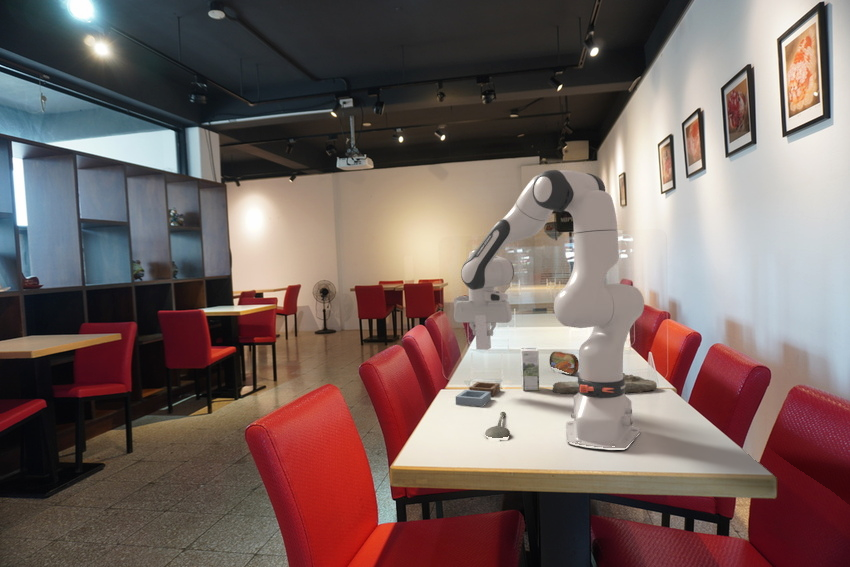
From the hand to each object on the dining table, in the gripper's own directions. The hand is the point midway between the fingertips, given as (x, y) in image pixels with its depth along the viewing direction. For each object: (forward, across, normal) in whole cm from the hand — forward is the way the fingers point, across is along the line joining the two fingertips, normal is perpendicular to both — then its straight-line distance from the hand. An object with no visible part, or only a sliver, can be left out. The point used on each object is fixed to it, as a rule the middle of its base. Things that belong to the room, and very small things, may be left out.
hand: (483, 335), depth 181 cm
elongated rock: (+21, +38, +14) cm, 46 cm away
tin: (+20, +21, +37) cm, 47 cm away
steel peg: (+5, 0, 0) cm, 5 cm away
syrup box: (+20, +14, +9) cm, 26 cm away
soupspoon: (+21, +15, -34) cm, 43 cm away
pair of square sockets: (+20, 0, -6) cm, 21 cm away
